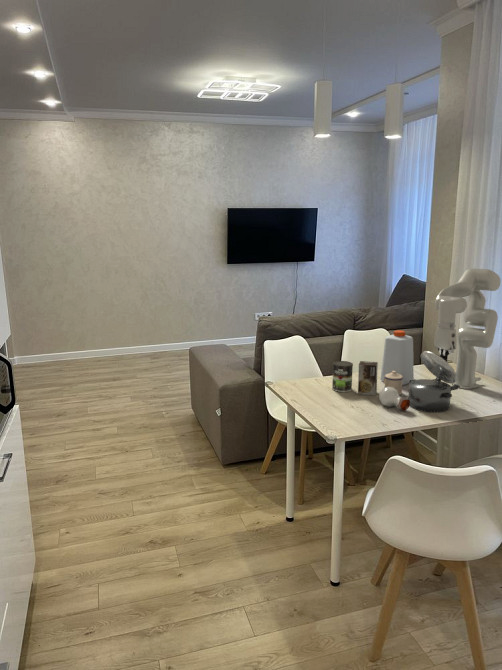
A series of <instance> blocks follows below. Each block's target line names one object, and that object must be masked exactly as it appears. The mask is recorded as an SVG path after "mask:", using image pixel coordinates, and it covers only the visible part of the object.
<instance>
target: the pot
mask: <svg viewBox="0 0 502 670" xmlns="http://www.w3.org/2000/svg"><path fill="white" fill-rule="evenodd" d="M435 377H436V376H435ZM458 389H461V388H460V386H459V385H456V384H454V386H453V385H451V384H450V383H446V382H444V381H442V380H440V379H439V378H437V377H436V378H433V379H428V378H427V379H426V378H425V379H424V378H421V379H420V378H419V379H415V378H414V379H413V380H410V383H408V399H407V400H409V399H410V407H409V408H412V409H414V410H417V411H419V412H425V413H443V412H447V411H448V410H450V408H451V398H452V397H453V394H452V391H455V390H458Z"/></svg>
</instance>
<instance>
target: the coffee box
mask: <svg viewBox="0 0 502 670" xmlns="http://www.w3.org/2000/svg"><path fill="white" fill-rule="evenodd" d="M378 364H379V363H378V362H377V361H365V360H360V361H359V363H358V376H357V377H358V381H357V395H366V396H374V397H375V396H377V393H378V391H377V390H378V369H379V368H378V366H379V365H378Z"/></svg>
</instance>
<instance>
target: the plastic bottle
mask: <svg viewBox="0 0 502 670" xmlns="http://www.w3.org/2000/svg"><path fill="white" fill-rule="evenodd" d="M392 371H396V373H398V374H400V375H402V376H403V379H402V386H404V385H407V384H408V385H409V383H410V380H414V379H415V378H414V338H413V337H412V336H410V335H407V334H406V331H404V330H401V329H400V330H399V329H397V330H394V331H393V334H390V335H388V336H386V337H385V339H384V347H383V355H382V363H381V371H380V381H382V382H383V383H384V377H385V375H386V374H389V373H392Z"/></svg>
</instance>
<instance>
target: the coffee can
mask: <svg viewBox="0 0 502 670" xmlns="http://www.w3.org/2000/svg"><path fill="white" fill-rule="evenodd" d="M353 365H354V363H353V362H351V361H347V360H337V361H333V363H332V382H331V383H332V385H331V386H332V388H331V389H332V390H333V391H334V390H335V391H334V392H337V391H338V393H348V392H351V391H352V390H353V389H352V388H353V386H352V385H353V369H354V368H353Z"/></svg>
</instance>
